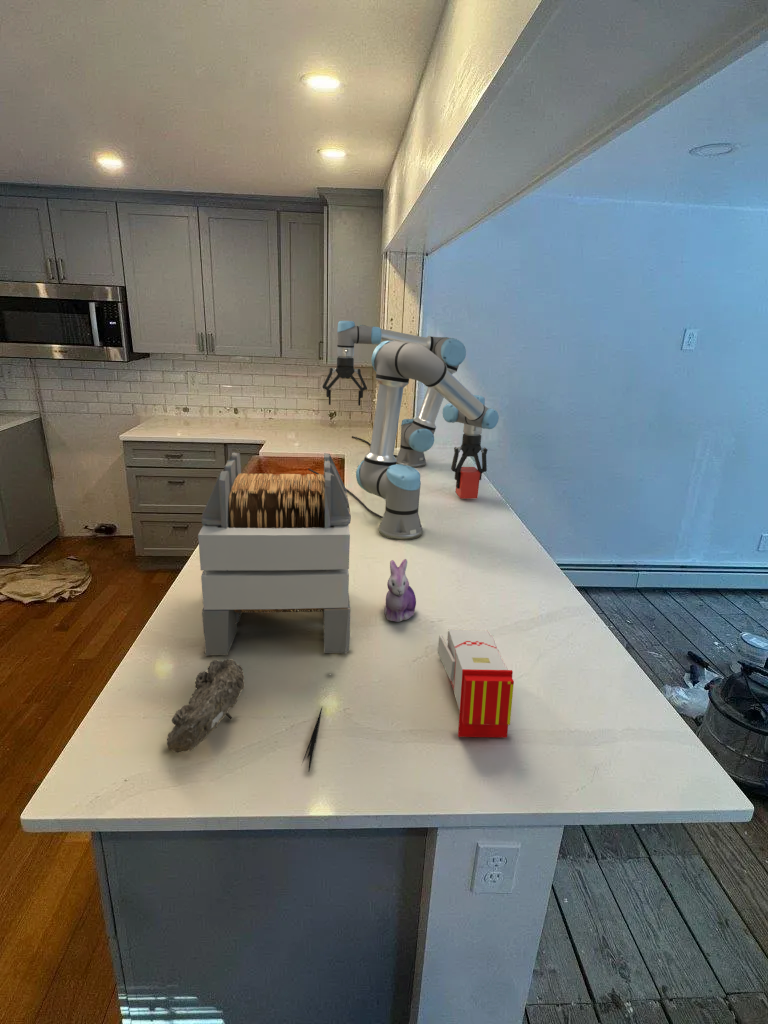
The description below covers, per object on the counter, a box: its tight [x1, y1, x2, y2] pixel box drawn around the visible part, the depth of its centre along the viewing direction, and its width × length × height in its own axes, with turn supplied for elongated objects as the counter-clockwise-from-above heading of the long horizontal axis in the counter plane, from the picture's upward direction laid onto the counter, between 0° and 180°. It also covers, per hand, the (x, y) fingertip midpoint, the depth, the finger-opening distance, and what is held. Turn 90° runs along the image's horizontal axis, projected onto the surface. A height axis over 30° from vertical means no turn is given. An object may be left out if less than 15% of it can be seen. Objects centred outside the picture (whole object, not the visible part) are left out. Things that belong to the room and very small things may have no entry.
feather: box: [301, 673, 332, 771], centre depth 108 cm, size 2×28×2 cm
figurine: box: [384, 558, 417, 623], centre depth 145 cm, size 9×10×15 cm
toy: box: [437, 628, 515, 738], centre depth 117 cm, size 12×13×30 cm
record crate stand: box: [197, 451, 352, 657], centre depth 136 cm, size 34×33×41 cm
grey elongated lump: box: [166, 658, 245, 754], centre depth 106 cm, size 22×10×15 cm
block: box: [455, 466, 481, 500], centre depth 238 cm, size 7×9×11 cm
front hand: (467, 487), depth 239 cm, fingers closed on block, 7 cm apart
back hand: (344, 404), depth 261 cm, fingers open, 13 cm apart
